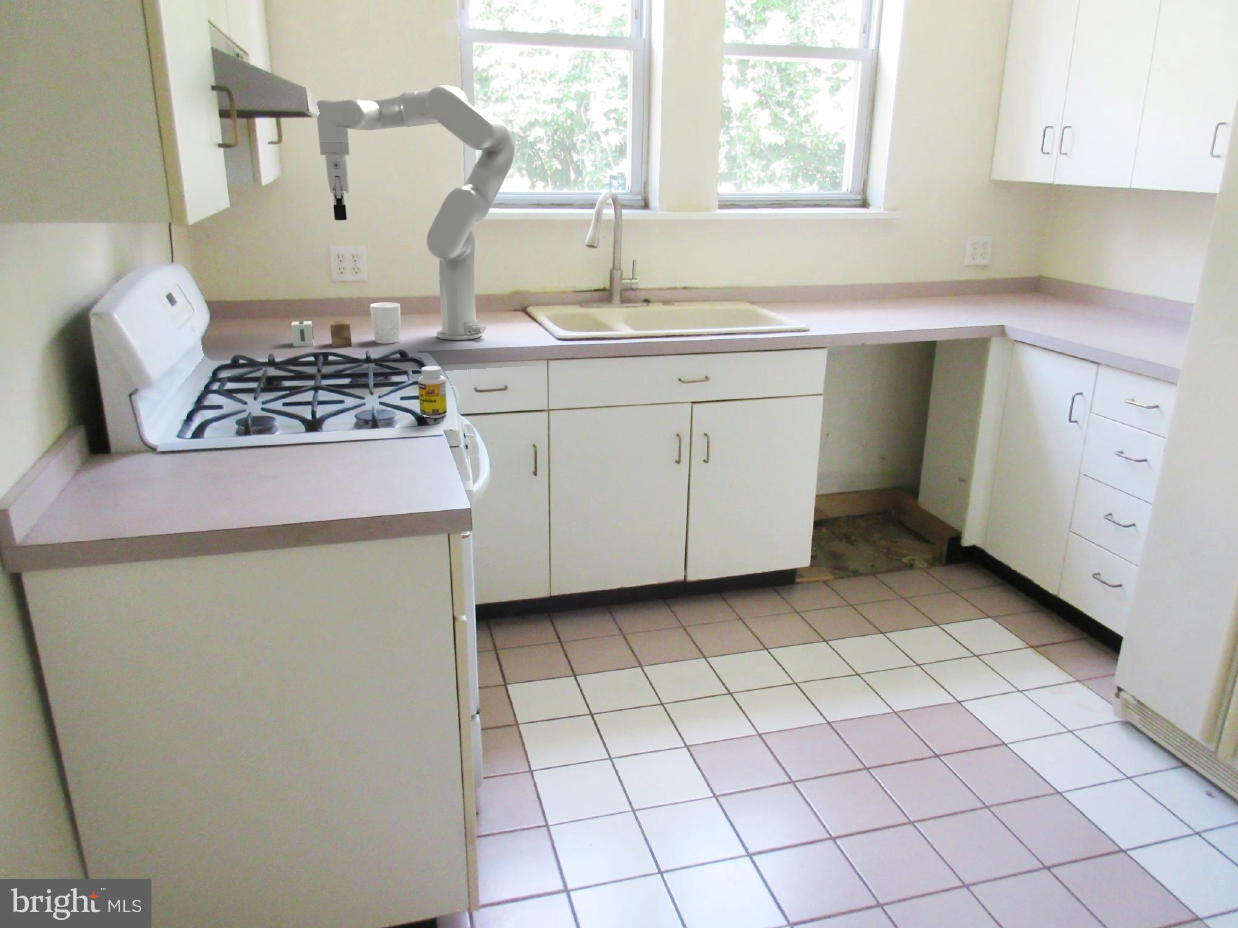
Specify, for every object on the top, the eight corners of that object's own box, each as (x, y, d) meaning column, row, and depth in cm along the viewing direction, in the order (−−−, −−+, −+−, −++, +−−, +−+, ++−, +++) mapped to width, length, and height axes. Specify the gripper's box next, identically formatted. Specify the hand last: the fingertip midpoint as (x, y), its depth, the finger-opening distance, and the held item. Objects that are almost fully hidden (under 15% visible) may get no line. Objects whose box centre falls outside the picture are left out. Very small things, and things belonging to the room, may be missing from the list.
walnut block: (351, 342, 245) (349, 320, 243) (351, 346, 240) (349, 324, 238) (332, 343, 244) (329, 321, 242) (332, 347, 239) (330, 325, 237)
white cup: (367, 341, 247) (364, 304, 243) (391, 337, 252) (389, 301, 249) (383, 345, 242) (380, 308, 238) (408, 341, 247) (405, 305, 244)
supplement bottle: (415, 417, 179) (411, 369, 176) (429, 410, 184) (426, 363, 180) (438, 420, 177) (435, 372, 174) (452, 413, 182) (449, 366, 178)
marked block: (314, 342, 245) (312, 320, 243) (314, 346, 240) (311, 323, 238) (294, 343, 244) (291, 320, 242) (293, 347, 239) (291, 324, 237)
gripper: (349, 150, 236) (355, 222, 243) (348, 149, 250) (354, 218, 256) (319, 149, 234) (326, 222, 240) (319, 149, 248) (326, 218, 254)
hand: (340, 220), depth 248 cm, fingers closed
